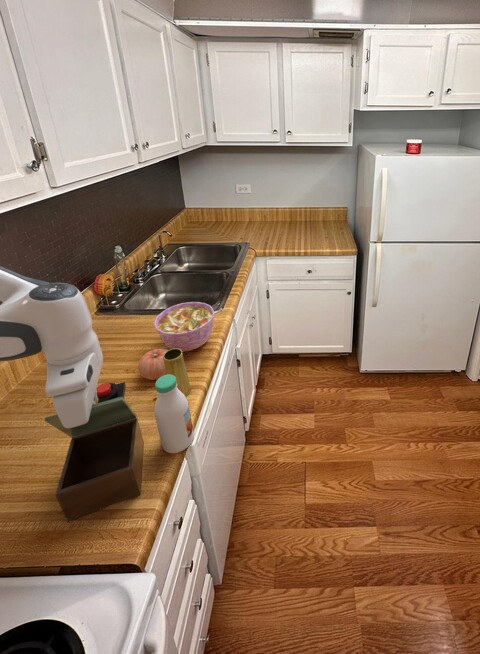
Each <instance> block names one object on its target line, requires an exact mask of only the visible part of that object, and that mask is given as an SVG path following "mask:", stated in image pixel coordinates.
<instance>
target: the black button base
mask: <svg viewBox="0 0 480 654" xmlns="http://www.w3.org/2000/svg"><path fill="white" fill-rule="evenodd" d="M108 383H109V384H110V385H111V389H112V391H111V392H110V393H109V394H108V395H106V396H103V397H99V396H98V395H97V397H98V403H101V402H104V401H108V400H112V399H115V398H119V397H123V398H124V399H125V393H126V386H127V385H126V382H125V381H123V382H119V383H115V382H108Z"/></svg>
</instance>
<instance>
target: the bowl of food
mask: <svg viewBox="0 0 480 654" xmlns="http://www.w3.org/2000/svg"><path fill="white" fill-rule="evenodd" d="M214 318H215V311H214V308H213V307H212V306H211V305H210V304H207V303H205V302H201V301H189V302H188V301H187V302H181V303H178V304H175V305H172V306H170V307H167V308H166V309H164V310H163V311H162V312H160V313H158V315H157V317H156V318H155V319H154V322H153V326H154V328H155V330H156V332H157V333H158V335H159V337H160V339H161V340H162V342H163V344H164V345H165V347H166V348H168V349H169V350H170V349H173V348H178V349H181V350H182V352H190V351H193V350H196V349H198V348H200V347H201V346H203V345H205V343H206V342H207V341H208V340H209V339H210V337H211V334H212V331H213V327H214Z"/></svg>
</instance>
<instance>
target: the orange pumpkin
mask: <svg viewBox="0 0 480 654" xmlns="http://www.w3.org/2000/svg"><path fill="white" fill-rule="evenodd" d="M168 350H169V349H167V348H165V347H164V348H163V347H159V348H154V349H151V350H149V351H147V352H146V353H145V354H144V355H143V356H142V357H141V358H140V360H139V362H138V364H137V368H138V369H137V370H138V372H139V374H140V376H142V378H144V379H147V380H151V381H153V380H158V379H159V378H160V377H162V376H164V375H166V369H165V365H164V360H163V355H164V353H165V352H166V351H168Z"/></svg>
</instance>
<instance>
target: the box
mask: <svg viewBox="0 0 480 654" xmlns="http://www.w3.org/2000/svg"><path fill="white" fill-rule="evenodd" d="M144 449H145V440H144V437H143V434H142V430H141V427H140V423H139V419H138V417H137V418H135V419H131V420H128V421H125V422H121V423H118V424H115V425H111V426H108V427H105V428H101V429H98V430H94V431H91V432H88V433H84V434H81V435H78V436H74V437H71V439H70V443H69V447H68V450H67V454H66V456H65V460H64V464H63V467H62V470H61V473H60V477H59V480H58V485H57V488H56V492H55V497H56V499H57V502H58V504H59V506H60V509H61V510H62V512H63V515H64V517H65V519H66V521H67V522H68V523H69V522H72V521H74V520H78V519H80V518H82V517H85V516H88V515H90V514H94V513H96V512H99V511H101V510H103V509H107V508H108V507H112V506H114V505H117V504H119V503H123V502H125V501H128V500H130V499H133V498H136V497H139V496H140V495H142V480H143V465H144Z"/></svg>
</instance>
